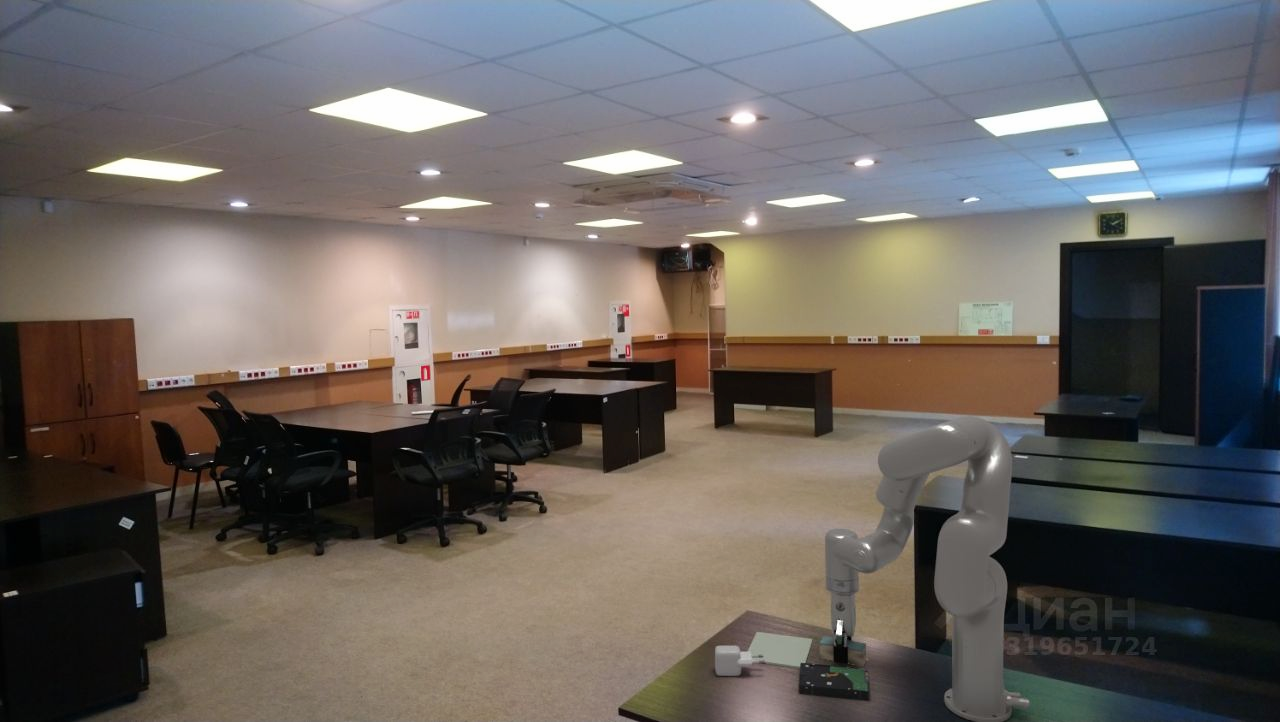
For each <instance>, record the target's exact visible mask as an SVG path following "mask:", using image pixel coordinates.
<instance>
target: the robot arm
mask: <svg viewBox="0 0 1280 722" xmlns="http://www.w3.org/2000/svg"><path fill="white" fill-rule="evenodd" d="M965 462H967V469H966V473H965V476H964V480H963V484H962V485H963V486H962V498H961V503H960V504H961V505H960V509H959V511H958V512H957V513H956V514H954V515H952V516H951V517H949V518H947V520H946V521H945V522H944V523H943V524H942V527H941V529H940V531H939V534H938V538H937V545H936V547H937V548H936V559H935V568H934V569H935V570H934V579H933V580H934V581H933V584H934V586H933V587H934V593H935V597H936V600H937V602H938V603H939V605H940V607H941V608H942V609H943V610H944V611H945V612H946V613H947V614H949V615H951V616H952V621H951V622H952V623H951V624H952V626H951V627H952V628H951V630H952V631H951V636H952V638H951V639H952V640H951V642H952V643H951V644H952V645H951V650H952V651H951V657H952V659H951V662H952V663H951V673H952V674H951V675H952V676H951V678H952V680H951V682H952V684H951V687H952V688H949V689H948V690H946V691H945V692H944V697H943V702H944V705H945V706H946V707H947V709H948V710H949V711H951V712H952V713H953V714H955V715H957V716H959V717H961V718H963V719H965V720H968V721H972V722H1005V721H1007V720H1009V719H1010V718H1011V716H1012V710H1013V709H1012V707H1015V708H1019V709H1026V710H1030V700H1029V698H1024V697H1022V696H1021V693H1020V692H1015V691H1013V692H1012V691H1008V690H1007V689H1006V688H1005V685H1004V635H1005V634H1004V620H1005V610H1006V601H1007V594H1008V581H1007V576H1006V575H1007V574H1006V572H1005V570H1004V568H1003V566H1002V565H1001V564H1000V563H999V562H998V561H997V560H996V559H995V558H993V557H991V555H993V554H994V553H996V552H997V551H998V550H999V549H1001V548H1002V547H1003V545H1004V544H1005V542H1006V539H1007V532H1008V523H1009V522H1008V520H1009V511H1010V510H1009V509H1010V508H1009V507H1010V494H1011V485H1012V484H1011V483H1012V474H1013V455H1012V450H1011V447H1010V444H1009V442H1008V440H1007V438H1006V437H1005V435H1004V434H1003V433H1002V431H1001V430H999V428H997V427H996V425H994V424H992V423H991V422H990V421H988V420H986V419H984V418H982V417H979V416H961V417H957V418H955V419H951V420H948V421H945V422H942V423H938V424H935V425H933V426H930V427H928V428H925V429H923V430H920V431H917V432H914V433H912V434H908V435H905V436H902V437H899V438H895V439H893V440H891V441H888V442H886V443H885V444H884V445H883V446H882V447H881V448H880V450H879V453H878V456H877V465H878V468H879V471H880V472H881V474H882V477H881V480H880V482H879V484H878V486H877V488H876V491H875V498H876V500H877V501H878V502H879V503H880V505H882V506H883V512H882V515H881V517H880V520H879V523H878V525H877V527H876V529H875V530H874V532H873V533H871V534H868V535H866V536H864V537H860V538H859V537H858V534H857V533H856V532H855V531H853V530H851V529H849V528H848V529H847V528H833V529H830V530H828V531H827V532H826V533H825V536H824V537H825V539H824V541H825V542H824V543H825V544H824V547H825V548H824V551H825V554H824V555H825V556H824V557H825V564H824V565H825V589H826V590H827V591H828V592H829V593H830V624H831V625H830V628H831V633H832V635H834V636H833V638H834V645H833V659H834V661H833V662H834V663H835V664H844V665H849V664H848V646H847V640H849V641H853V640H852V638H853V637H854V636H855V635H854V634H855V630H856V625H857V616H856V615H857V614H856V594H857V593H858V592H859V590H860V589H859V588H860V587H859V586H860V584H859V583H860V582H859V581H860V580H859V577H860V576H859V574H860V573H863V574H868V575H869V574H874V573H876V572H878V571H879V570H881V569H883V568H884V567H886V566H888V565H889V564H892V563H893V562H895V561H896V560H897V559H899V557H900V556H901V554H902V552H903V551H904V549H905V546H906V544H907V542H908V540H909V538H910V536H911V534H912V531H913V526H914V521H915V511H914V510H915V507H916V505H917V502H918V501H919V498H920V496H921V493H922V491H923V489H924V488H925V484H926V482H927V480H928V478H929V476H930V474H931V473H932V474H933V473H934V472H938V471H941V470H945V469H948V468H951V467H955V466H957V465H960V464H962V463H965ZM843 639H844V640H843Z"/></svg>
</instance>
